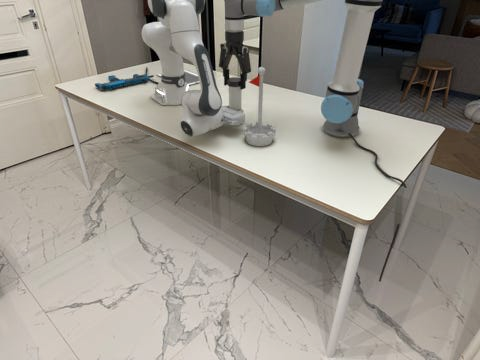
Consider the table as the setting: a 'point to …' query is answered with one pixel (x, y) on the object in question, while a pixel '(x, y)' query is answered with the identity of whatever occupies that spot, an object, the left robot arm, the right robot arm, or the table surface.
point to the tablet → (189, 78)
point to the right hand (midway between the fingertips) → (234, 86)
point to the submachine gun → (122, 81)
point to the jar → (235, 99)
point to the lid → (233, 82)
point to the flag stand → (259, 119)
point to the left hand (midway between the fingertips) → (236, 108)
